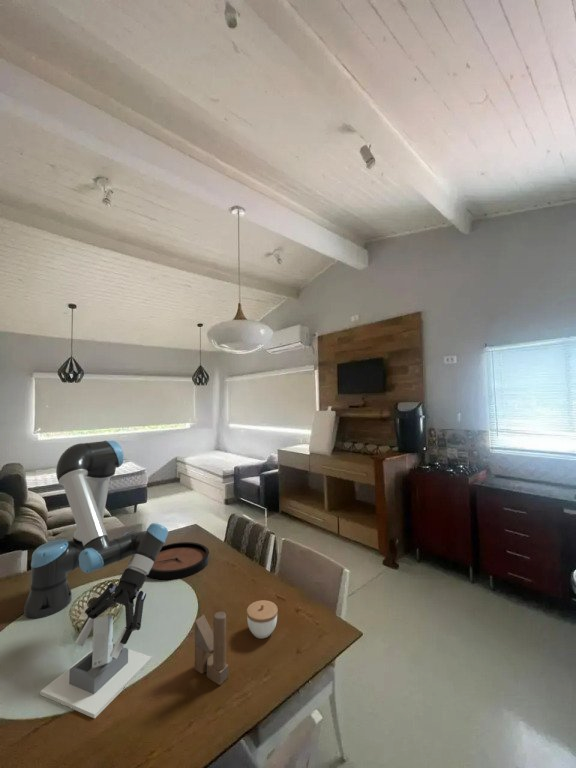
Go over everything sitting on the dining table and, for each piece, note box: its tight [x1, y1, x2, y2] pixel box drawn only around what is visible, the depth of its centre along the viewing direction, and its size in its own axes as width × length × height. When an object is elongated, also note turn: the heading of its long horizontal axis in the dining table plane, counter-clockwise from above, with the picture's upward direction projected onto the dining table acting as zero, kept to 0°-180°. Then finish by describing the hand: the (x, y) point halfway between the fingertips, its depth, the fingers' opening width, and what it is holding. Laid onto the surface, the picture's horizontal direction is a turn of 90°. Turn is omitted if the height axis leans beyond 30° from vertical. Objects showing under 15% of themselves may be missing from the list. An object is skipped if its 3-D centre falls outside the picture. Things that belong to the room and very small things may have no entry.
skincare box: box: [92, 614, 114, 668], centre depth 100 cm, size 6×4×12 cm
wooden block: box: [194, 611, 229, 686], centre depth 98 cm, size 4×11×18 cm, turn 57°
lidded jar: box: [246, 599, 279, 639], centre depth 115 cm, size 11×11×9 cm
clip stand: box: [40, 643, 153, 720], centre depth 97 cm, size 20×20×5 cm
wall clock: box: [146, 541, 210, 582], centre depth 164 cm, size 31×4×31 cm
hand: (95, 651), depth 95 cm, fingers open, 13 cm apart
